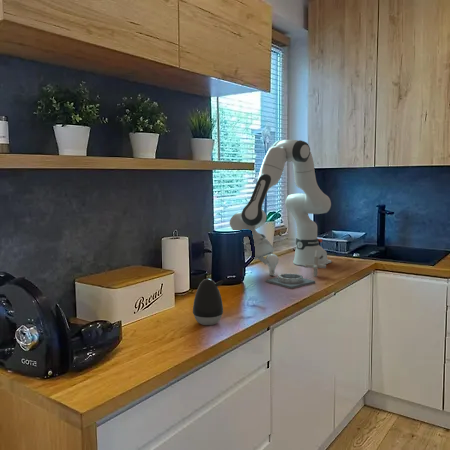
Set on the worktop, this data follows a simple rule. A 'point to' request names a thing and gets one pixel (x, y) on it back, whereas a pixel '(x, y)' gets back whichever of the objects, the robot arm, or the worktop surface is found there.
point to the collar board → (294, 285)
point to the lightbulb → (272, 263)
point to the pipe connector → (315, 265)
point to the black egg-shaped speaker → (208, 303)
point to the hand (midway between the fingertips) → (271, 262)
